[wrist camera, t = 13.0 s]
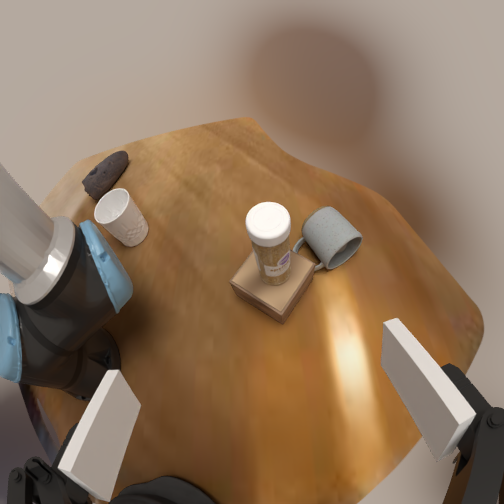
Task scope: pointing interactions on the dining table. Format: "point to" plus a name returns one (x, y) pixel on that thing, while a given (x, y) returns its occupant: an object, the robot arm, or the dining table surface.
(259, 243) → the sprinkles bottle
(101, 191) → the perforated stone tool
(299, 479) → the dining table surface
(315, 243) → the ceramic mug
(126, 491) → the black fedora hat
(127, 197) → the white cup
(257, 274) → the tan block
